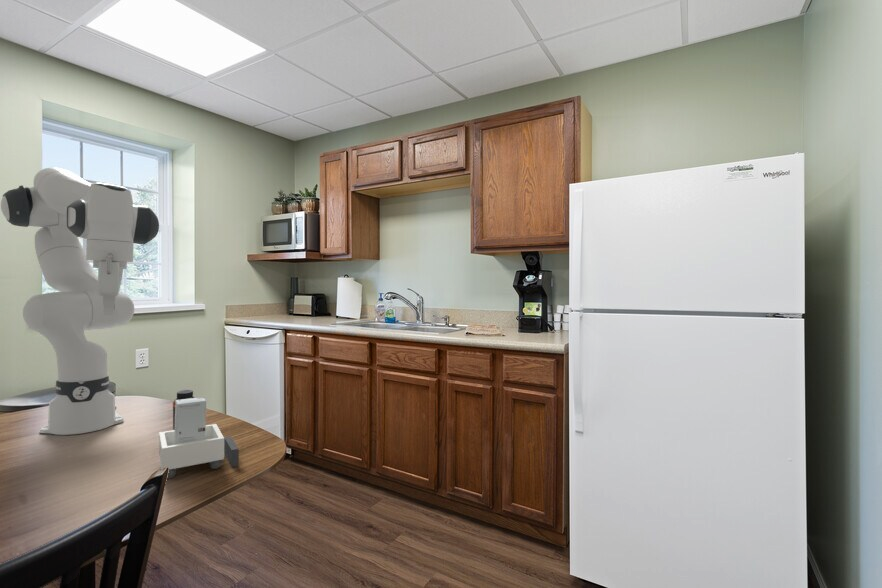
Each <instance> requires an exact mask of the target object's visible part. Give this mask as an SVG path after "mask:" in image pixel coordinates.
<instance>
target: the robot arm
mask: <svg viewBox="0 0 882 588" xmlns="http://www.w3.org/2000/svg"><path fill="white" fill-rule="evenodd" d="M0 210H1V212H2V215H3V216H4V218H5V219H6V221H7V222H8V223H9V224H11V225H12V226H14V227H15V226H17V227H23V228H28V227H34V228H35V227H38V228H39V227H40V228H39V229H38V230H37V231H36V232H35V234H34V248H35V249H34V251H35V255H36V257H37V261H38V264H39V268H40V269H41V272H42V275H43V278H44V280H45V282H46V284H47V285H48V286H49V287H50V288H52V289H54V290H55V291H56V292H55V291H54V292H47V293H41V294H36V295H33V296H31V297H30V298H29V299H28V300H27V301H26V302H25V304H24V305H23V308H22V317H23V320H24V322H25V324H26V325H27V326H28V327H29V328H30V329H32V330H33V331H35V332H37V333H39V334H40V335H42V336H43V337H44V338H45V339H46V340H47V341H48V342H49V343H50V344H51V346H52V347H53V350H54V353H55V355H56V356H55V357H56V362H57V363H56V365H57V380H56V381H55V385H54V386H55V394H56V395H55V397H54V398H52V399H51V401H49V403H48V415H47V416H48V417H47V423H46V424H45V425H44V426H42V427H41V428H40V429H39V433H40V434H53V435H60V436H61V435H62V436H68V435H77V434H86V433H91V432H95V431H100V430H103V429H106V428H109V427H111V426H113V425H117V424H121V423H124V422H125V421H124V418H123V416H122V415H121V414H120V413H118V411H116V410H117V406H116V396H115V394H114V393H112V392H111V391H110V390H109V388H110V377H109V375H108V353H107V352H108V351H107V350H106V348H104V347H103V346H102V345H101V344H98V343H95V342H93V341H90V340H87V338H86V336H85V331H91V330H101V329H102V330H103V329H104V330H105V329H112V328H117V327H120V326H125V325H126V324H128V323H130V321H132V318H133V317H134V314H135V305H134V302H133V300H132V299H131V297H130V296H129V295H127V294H125V293H123V292H120V290H121V285H122V280H123V271H124V270H127V269H128V268H127V267H128V265H127V263H133V262H134V244H135V245H136V244H138V245H147V244H148V243H150V242H151V241H153V240H154V239H155V238H156V237H157V236H158V233H159V230H160V221H159V218H158V216H157V215H156V213H155V212H154V211H153V210H152V209H151V208H150V207H149V206H148V205H142V204H141V205H140V204H137V205H136V204H134V201H133V195H132V191H131V189H129V188H127V187H125V186H122V185H117V184H113V183H107V182H106V183H105V182H93V183H90V182H88V181H86V180H85V179H83V178H82V177H80V176H79V175H77V174H75V173H73V172H72V171H70V170H67V169H64V168H59V167H46V168H42V169H41V170H39V171H38V172H37V173H36V174H35V176H34V178H33V186H32V187H27V186H26V187H25V186H24V185H23V184H21V185H19V186H18V187H17V188H16V187H15V188H12V189H9V190H7V191H6V192H5V193H3V194H2V198H1V201H0ZM79 238H81V239H85V243H86V244H85V250H84V247H83V246H82V244H81V242H80V240H79ZM89 261H92V264H93V265H92V266H91V264H90V262H89ZM94 269H98V271H97V273H95V271H94Z"/></svg>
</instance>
